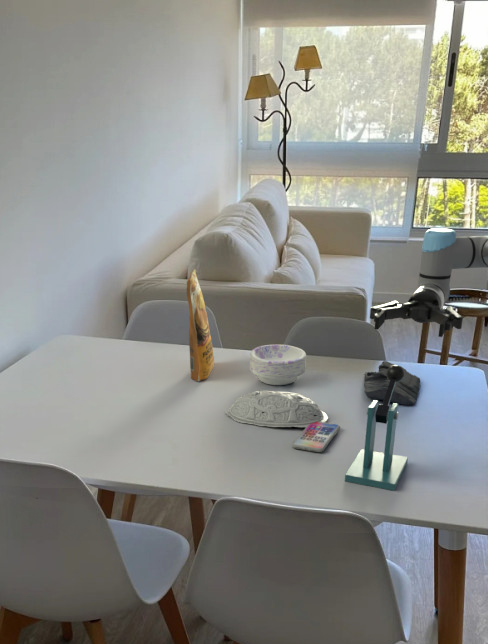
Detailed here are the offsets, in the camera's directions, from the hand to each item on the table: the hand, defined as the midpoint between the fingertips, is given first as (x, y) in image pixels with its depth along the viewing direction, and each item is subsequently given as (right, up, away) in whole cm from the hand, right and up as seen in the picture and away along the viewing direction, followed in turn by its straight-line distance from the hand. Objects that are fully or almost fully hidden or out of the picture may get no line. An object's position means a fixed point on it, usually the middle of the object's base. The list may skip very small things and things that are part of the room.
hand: (408, 326), depth 150 cm
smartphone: (-18, -24, +10) cm, 32 cm away
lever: (-5, -16, -6) cm, 18 cm away
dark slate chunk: (+4, -10, +38) cm, 39 cm away
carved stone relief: (-27, -18, +22) cm, 39 cm away
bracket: (-8, -31, -5) cm, 32 cm away
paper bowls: (-25, -7, +45) cm, 52 cm away
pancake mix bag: (-47, -4, +50) cm, 69 cm away
